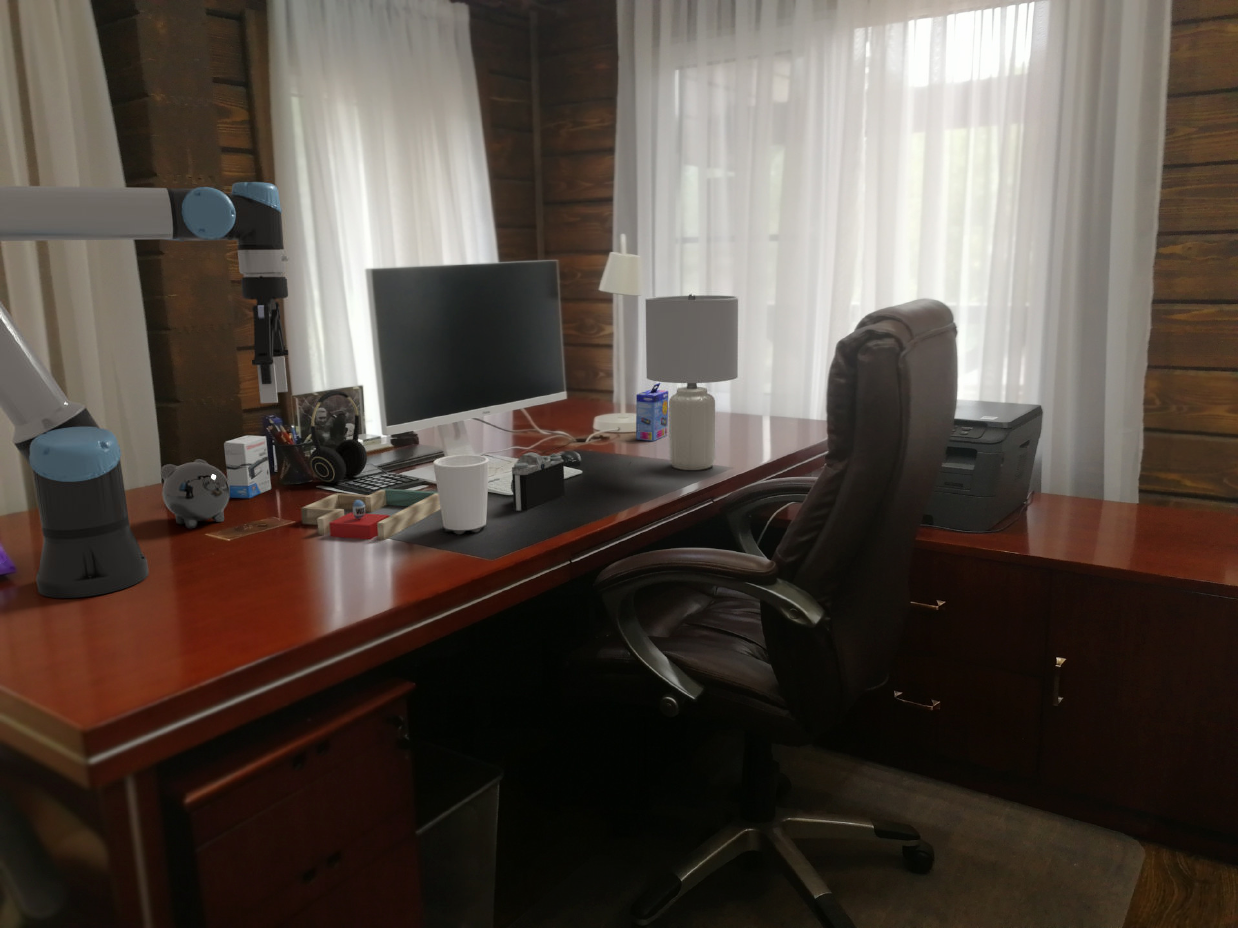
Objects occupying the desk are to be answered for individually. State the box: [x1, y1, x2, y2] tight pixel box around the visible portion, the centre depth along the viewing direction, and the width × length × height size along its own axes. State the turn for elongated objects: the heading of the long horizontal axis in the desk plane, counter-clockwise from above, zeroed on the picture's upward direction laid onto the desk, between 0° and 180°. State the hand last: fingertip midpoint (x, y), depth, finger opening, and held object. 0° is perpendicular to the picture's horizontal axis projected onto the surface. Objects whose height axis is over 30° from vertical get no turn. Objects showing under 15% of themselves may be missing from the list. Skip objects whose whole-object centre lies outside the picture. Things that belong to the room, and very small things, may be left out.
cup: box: [433, 454, 490, 535], centre depth 170 cm, size 10×10×13 cm
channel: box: [300, 488, 441, 541], centre depth 178 cm, size 22×21×3 cm
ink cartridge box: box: [635, 382, 669, 442], centre depth 249 cm, size 10×6×14 cm, turn 154°
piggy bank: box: [160, 458, 230, 530], centre depth 178 cm, size 11×15×12 cm
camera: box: [510, 451, 566, 512], centre depth 188 cm, size 15×7×10 cm, turn 149°
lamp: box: [645, 293, 739, 471], centre depth 212 cm, size 20×20×39 cm
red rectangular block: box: [329, 500, 390, 540], centre depth 170 cm, size 8×7×6 cm
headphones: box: [309, 390, 368, 484], centre depth 208 cm, size 9×15×20 cm, turn 155°
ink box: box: [223, 435, 272, 499], centre depth 199 cm, size 8×5×12 cm, turn 168°
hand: (274, 397), depth 168 cm, fingers open, 13 cm apart
